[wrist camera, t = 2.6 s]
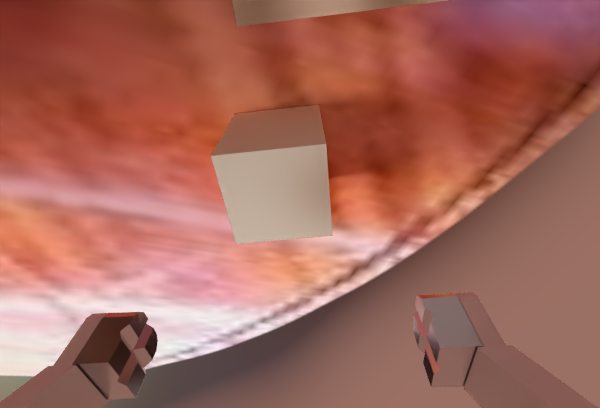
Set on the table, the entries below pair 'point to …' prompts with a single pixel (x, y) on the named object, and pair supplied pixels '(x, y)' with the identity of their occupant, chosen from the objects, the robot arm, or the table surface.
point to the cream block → (275, 175)
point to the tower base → (306, 9)
